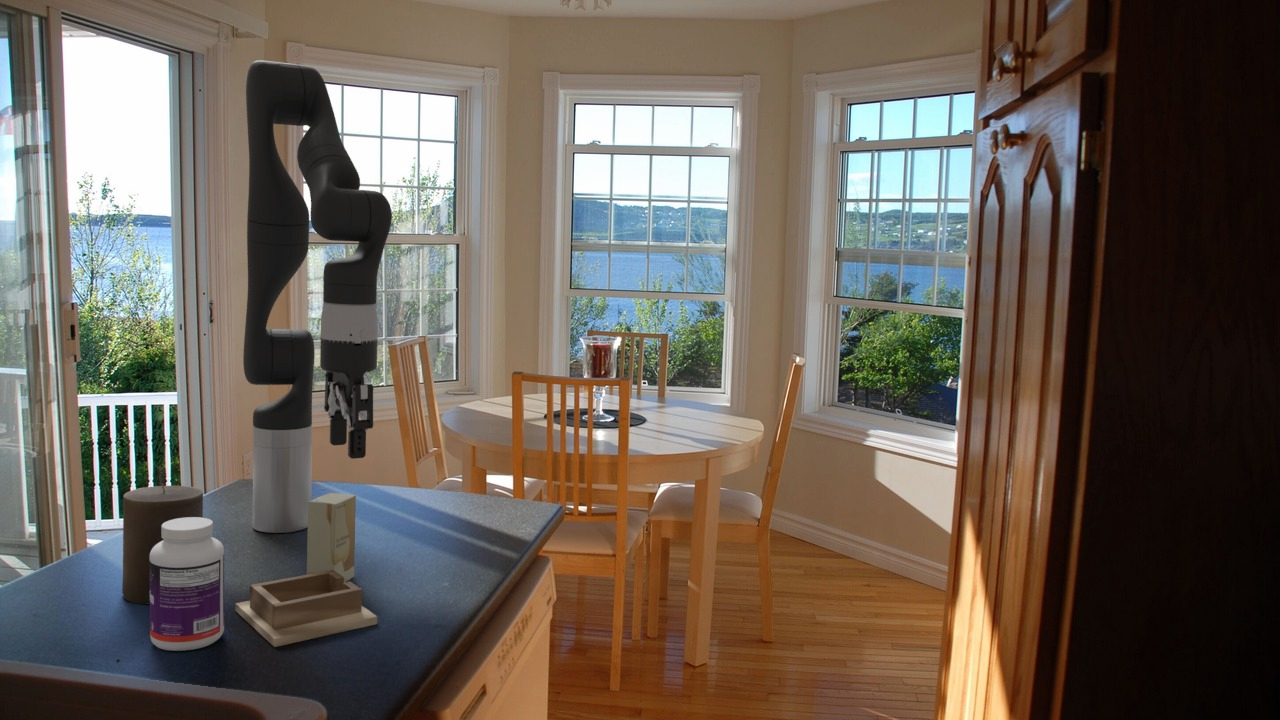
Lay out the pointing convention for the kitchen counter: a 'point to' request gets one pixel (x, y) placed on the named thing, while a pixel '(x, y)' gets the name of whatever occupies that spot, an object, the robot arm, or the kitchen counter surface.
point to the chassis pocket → (305, 608)
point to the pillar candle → (150, 530)
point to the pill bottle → (186, 586)
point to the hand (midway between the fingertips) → (347, 451)
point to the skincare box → (331, 534)
